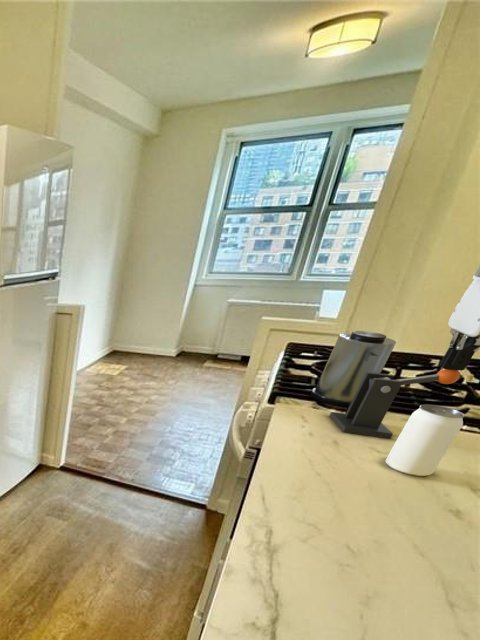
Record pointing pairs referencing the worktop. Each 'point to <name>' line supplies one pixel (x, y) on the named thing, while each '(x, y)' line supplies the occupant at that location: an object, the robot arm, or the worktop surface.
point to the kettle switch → (431, 378)
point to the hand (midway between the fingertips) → (450, 368)
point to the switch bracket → (369, 406)
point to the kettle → (351, 366)
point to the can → (425, 440)
